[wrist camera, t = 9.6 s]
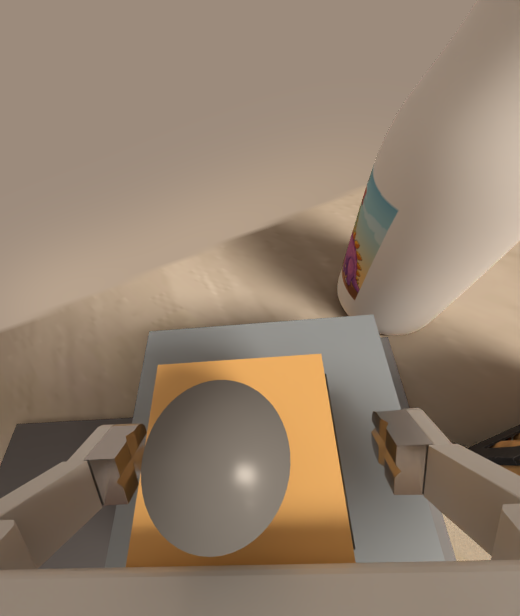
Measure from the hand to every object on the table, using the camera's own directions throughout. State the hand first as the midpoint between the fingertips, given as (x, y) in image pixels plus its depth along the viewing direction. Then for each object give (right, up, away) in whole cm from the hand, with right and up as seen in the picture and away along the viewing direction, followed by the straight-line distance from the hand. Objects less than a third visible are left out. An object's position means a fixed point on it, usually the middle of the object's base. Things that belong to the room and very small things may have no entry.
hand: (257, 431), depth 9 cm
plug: (+1, -5, +7) cm, 8 cm away
